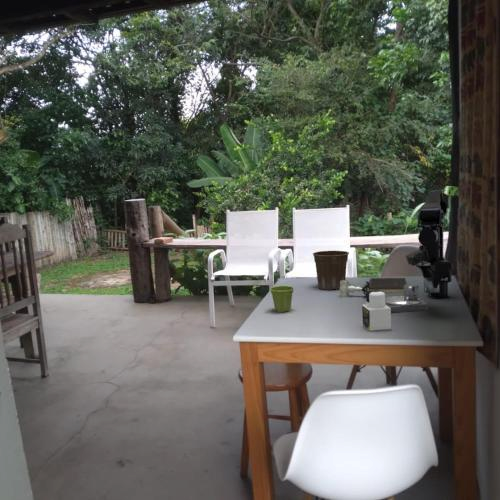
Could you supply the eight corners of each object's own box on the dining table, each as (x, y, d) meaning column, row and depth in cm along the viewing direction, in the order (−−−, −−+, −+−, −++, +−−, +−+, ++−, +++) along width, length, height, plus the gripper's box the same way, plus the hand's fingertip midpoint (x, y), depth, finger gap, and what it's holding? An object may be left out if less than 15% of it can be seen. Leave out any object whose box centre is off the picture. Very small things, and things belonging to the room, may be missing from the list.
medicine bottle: (362, 325, 161) (361, 289, 159) (383, 323, 162) (382, 288, 160) (369, 331, 154) (368, 294, 152) (391, 329, 154) (390, 292, 153)
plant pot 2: (355, 285, 225) (354, 250, 223) (342, 292, 211) (340, 255, 209) (322, 283, 233) (321, 250, 231) (308, 290, 220) (306, 255, 218)
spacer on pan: (414, 297, 184) (414, 284, 184) (420, 299, 179) (420, 286, 179) (401, 298, 184) (401, 285, 183) (407, 301, 179) (407, 287, 178)
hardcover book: (405, 282, 226) (405, 277, 225) (407, 293, 204) (407, 288, 203) (370, 282, 230) (369, 278, 230) (368, 293, 208) (367, 288, 208)
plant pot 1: (297, 307, 189) (296, 285, 188) (291, 313, 181) (290, 291, 180) (274, 307, 193) (273, 285, 191) (267, 313, 184) (266, 290, 183)
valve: (338, 298, 202) (367, 299, 197) (337, 282, 201) (367, 283, 196) (341, 294, 208) (370, 295, 203) (341, 279, 207) (369, 279, 202)
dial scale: (411, 300, 189) (411, 294, 189) (429, 309, 175) (429, 302, 175) (369, 304, 187) (369, 298, 187) (383, 313, 173) (383, 306, 173)
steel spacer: (435, 290, 174) (434, 276, 174) (442, 292, 169) (441, 277, 169) (421, 291, 173) (421, 277, 173) (428, 293, 168) (427, 279, 168)
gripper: (397, 241, 177) (398, 283, 179) (421, 247, 159) (421, 293, 161) (426, 239, 179) (427, 281, 181) (453, 244, 160) (453, 291, 162)
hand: (431, 286), depth 171 cm, fingers closed on steel spacer, 5 cm apart
